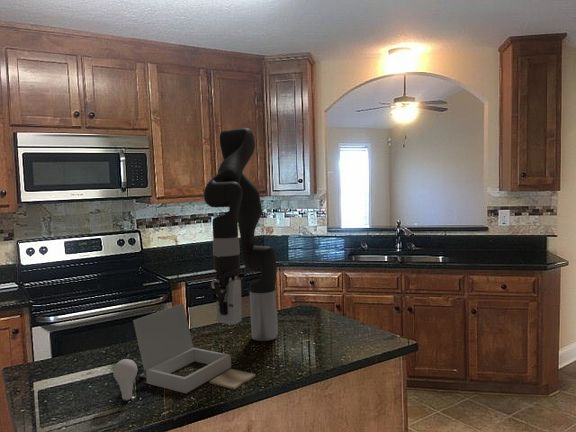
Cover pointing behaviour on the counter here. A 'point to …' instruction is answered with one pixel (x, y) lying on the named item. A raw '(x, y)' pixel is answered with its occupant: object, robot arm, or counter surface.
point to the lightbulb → (125, 376)
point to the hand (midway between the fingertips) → (229, 312)
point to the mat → (232, 378)
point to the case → (163, 378)
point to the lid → (163, 335)
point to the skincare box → (231, 304)
